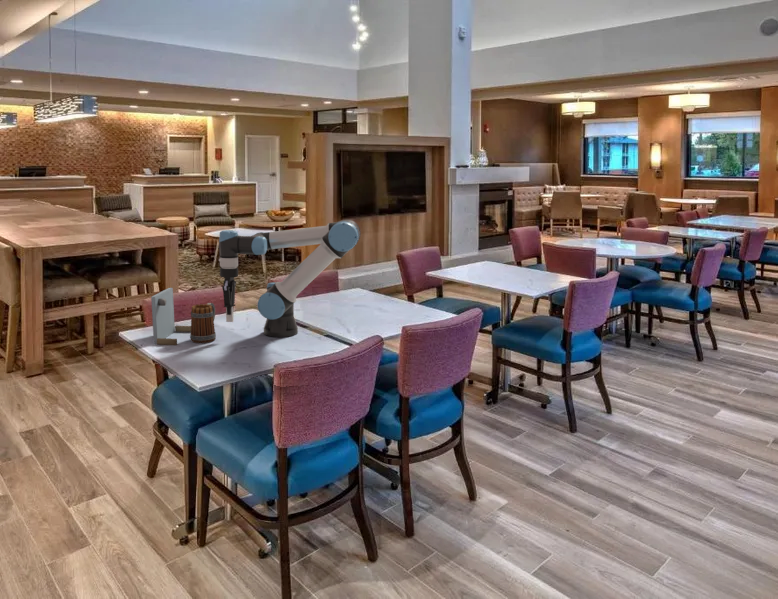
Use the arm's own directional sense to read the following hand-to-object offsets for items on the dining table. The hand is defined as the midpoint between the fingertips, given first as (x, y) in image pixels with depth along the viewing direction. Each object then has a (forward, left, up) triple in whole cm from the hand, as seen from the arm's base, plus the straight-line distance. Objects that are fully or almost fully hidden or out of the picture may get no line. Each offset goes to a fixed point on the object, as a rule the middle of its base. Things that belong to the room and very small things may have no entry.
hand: (229, 321), depth 269 cm
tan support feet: (+24, 0, -8) cm, 25 cm away
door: (+27, 0, -8) cm, 29 cm away
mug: (+11, 0, -8) cm, 13 cm away
